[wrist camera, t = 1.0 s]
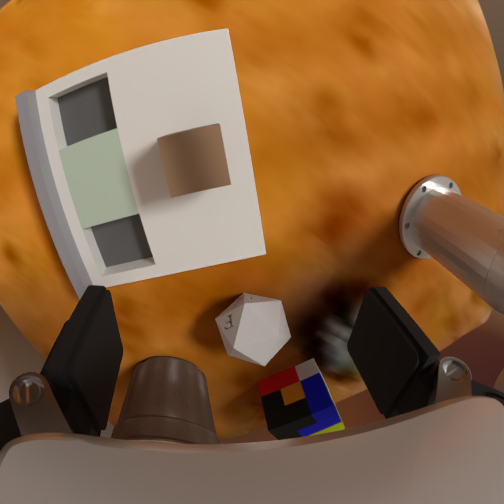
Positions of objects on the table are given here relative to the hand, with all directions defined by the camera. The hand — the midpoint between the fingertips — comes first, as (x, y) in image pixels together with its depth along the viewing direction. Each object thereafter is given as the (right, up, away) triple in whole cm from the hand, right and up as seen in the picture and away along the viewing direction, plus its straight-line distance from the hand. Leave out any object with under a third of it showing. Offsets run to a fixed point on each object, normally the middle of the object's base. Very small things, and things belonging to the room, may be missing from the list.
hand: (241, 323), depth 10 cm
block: (-5, +12, +16) cm, 21 cm away
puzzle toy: (+8, -21, +37) cm, 43 cm away
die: (0, -5, +28) cm, 29 cm away
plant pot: (-13, -18, +32) cm, 39 cm away
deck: (-11, +12, +18) cm, 24 cm away
